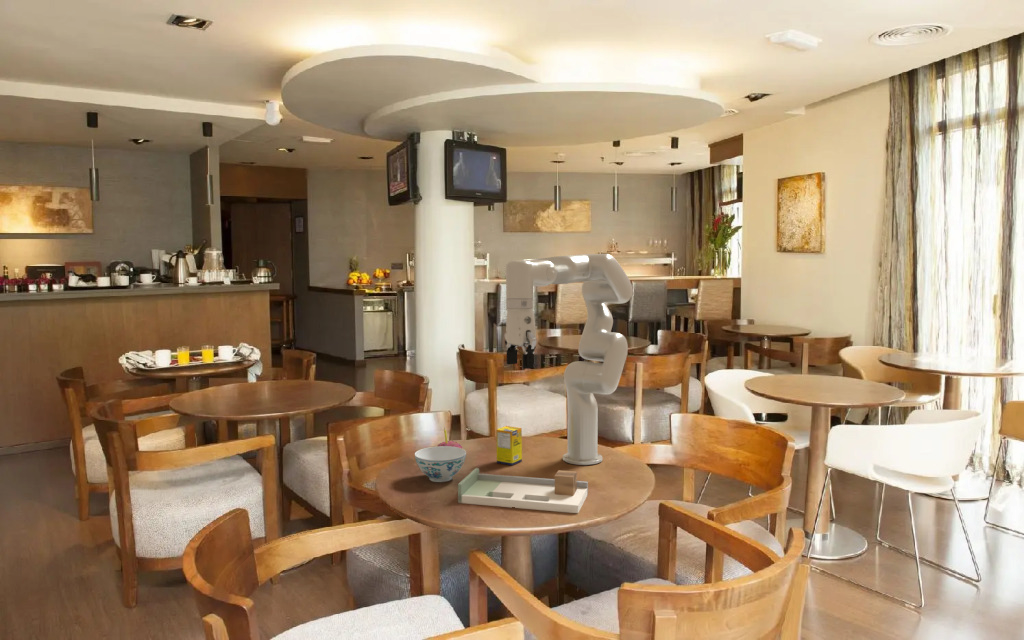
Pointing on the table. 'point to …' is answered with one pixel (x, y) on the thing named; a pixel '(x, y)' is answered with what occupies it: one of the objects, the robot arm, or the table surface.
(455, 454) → the chinaware
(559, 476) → the walnut block
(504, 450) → the supplement box
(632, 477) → the table surface
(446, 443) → the cupcake
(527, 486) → the trap board
